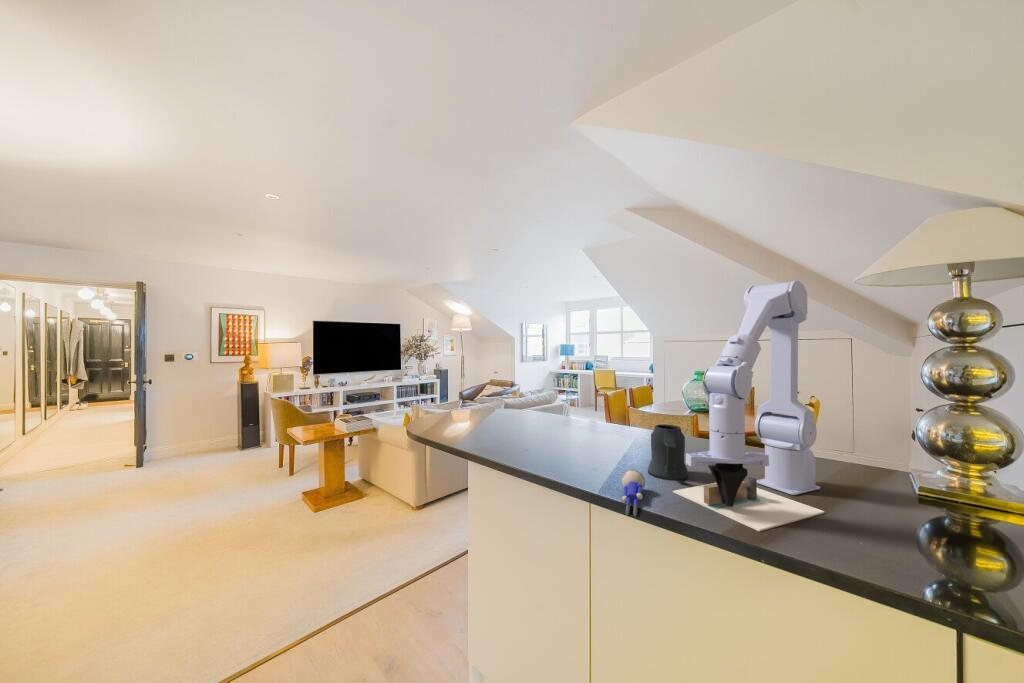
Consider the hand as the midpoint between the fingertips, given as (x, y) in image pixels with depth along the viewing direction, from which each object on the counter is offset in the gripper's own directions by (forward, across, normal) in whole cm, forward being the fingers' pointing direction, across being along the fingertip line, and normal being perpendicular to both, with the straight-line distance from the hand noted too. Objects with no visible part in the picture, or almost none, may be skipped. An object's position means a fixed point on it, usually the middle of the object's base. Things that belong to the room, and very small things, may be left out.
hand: (727, 504), depth 69 cm
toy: (+2, +15, -5) cm, 16 cm away
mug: (+1, +2, -19) cm, 19 cm away
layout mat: (+1, -6, -4) cm, 7 cm away
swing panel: (0, -1, -3) cm, 3 cm away
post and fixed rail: (+1, -7, -8) cm, 10 cm away
